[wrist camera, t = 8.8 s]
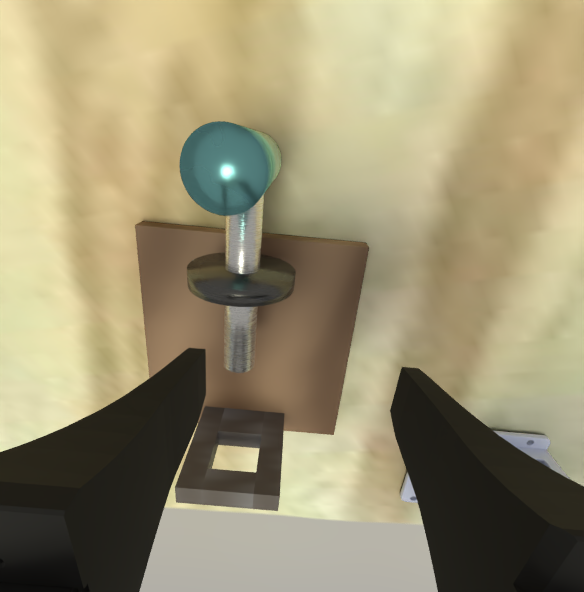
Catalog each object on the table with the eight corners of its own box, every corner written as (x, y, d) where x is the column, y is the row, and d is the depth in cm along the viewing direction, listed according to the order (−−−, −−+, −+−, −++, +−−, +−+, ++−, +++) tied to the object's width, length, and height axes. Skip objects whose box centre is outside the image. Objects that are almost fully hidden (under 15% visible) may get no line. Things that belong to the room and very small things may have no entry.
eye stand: (365, 242, 20) (397, 291, 13) (332, 424, 26) (343, 521, 19) (142, 221, 20) (64, 259, 13) (158, 409, 25) (109, 501, 19)
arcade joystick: (308, 136, 16) (313, 130, 10) (287, 338, 21) (281, 432, 14) (204, 125, 16) (134, 112, 10) (206, 331, 21) (160, 422, 14)
